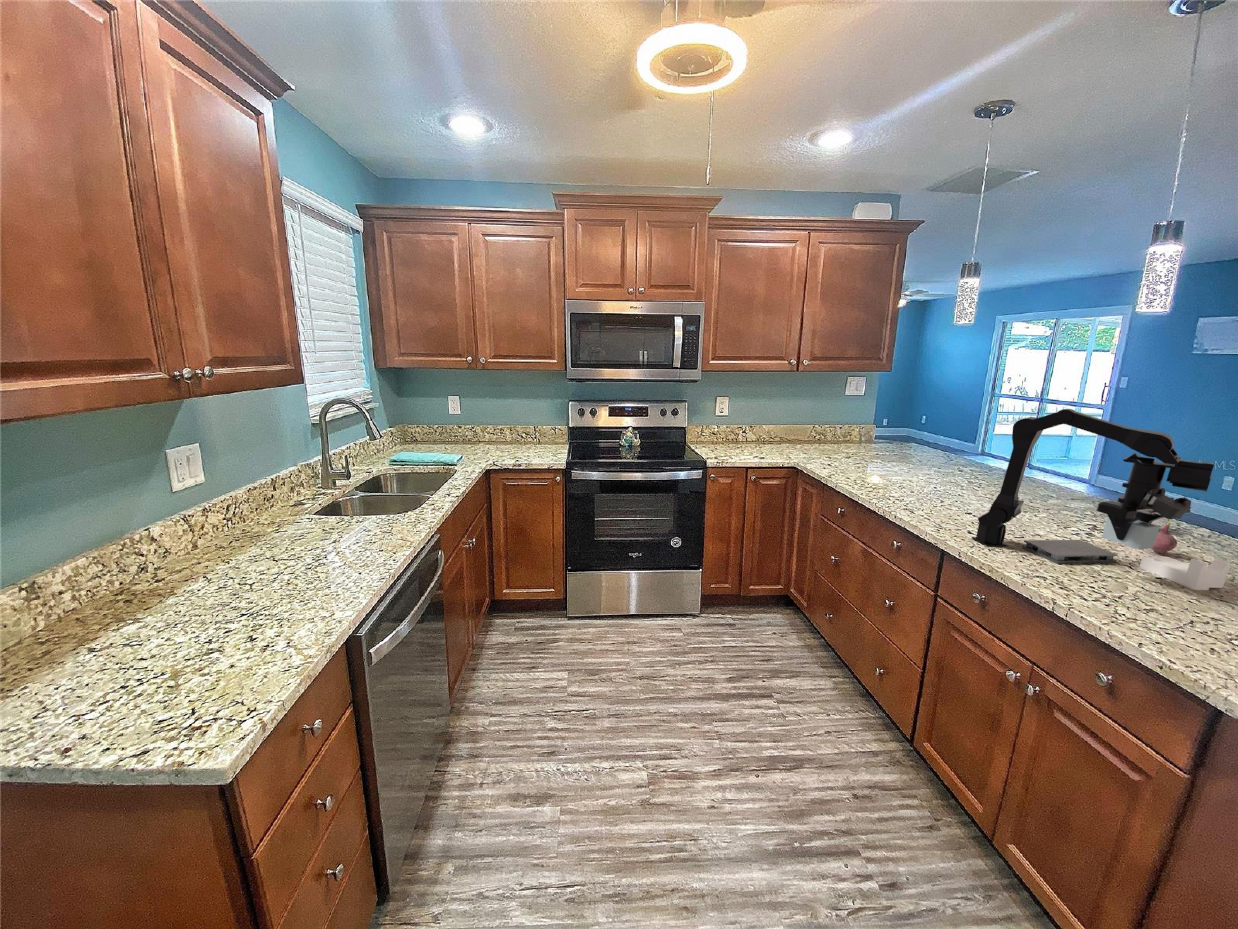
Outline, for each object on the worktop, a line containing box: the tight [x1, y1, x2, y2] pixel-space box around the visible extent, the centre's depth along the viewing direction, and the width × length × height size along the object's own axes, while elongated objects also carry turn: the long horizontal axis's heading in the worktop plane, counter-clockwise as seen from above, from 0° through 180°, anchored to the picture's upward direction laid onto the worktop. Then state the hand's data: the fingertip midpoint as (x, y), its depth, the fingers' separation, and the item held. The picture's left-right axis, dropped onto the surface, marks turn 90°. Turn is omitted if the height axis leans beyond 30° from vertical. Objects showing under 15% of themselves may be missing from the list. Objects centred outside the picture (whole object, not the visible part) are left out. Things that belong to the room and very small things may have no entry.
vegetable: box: [1150, 522, 1178, 554], centre depth 142 cm, size 6×6×10 cm
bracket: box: [1139, 556, 1232, 591], centre depth 127 cm, size 13×7×8 cm, turn 1°
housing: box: [1101, 516, 1161, 550], centre depth 125 cm, size 5×8×6 cm, turn 13°
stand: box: [1021, 539, 1119, 565], centre depth 141 cm, size 18×11×2 cm, turn 94°
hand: (1127, 539), depth 125 cm, fingers closed on housing, 5 cm apart
